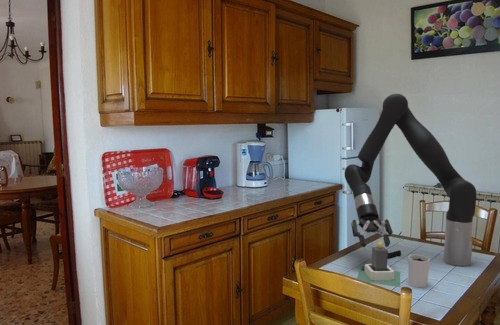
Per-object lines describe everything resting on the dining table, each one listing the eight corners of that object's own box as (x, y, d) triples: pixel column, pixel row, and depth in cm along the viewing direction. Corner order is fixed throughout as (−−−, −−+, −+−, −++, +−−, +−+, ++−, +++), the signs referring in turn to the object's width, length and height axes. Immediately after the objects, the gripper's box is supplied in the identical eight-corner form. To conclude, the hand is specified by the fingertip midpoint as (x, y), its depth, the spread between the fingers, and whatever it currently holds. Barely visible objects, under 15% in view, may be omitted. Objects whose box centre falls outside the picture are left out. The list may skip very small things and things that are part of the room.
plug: (381, 273, 140) (383, 240, 139) (386, 278, 136) (388, 243, 135) (371, 273, 140) (372, 240, 138) (375, 278, 136) (376, 243, 134)
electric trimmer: (403, 258, 160) (404, 251, 160) (379, 265, 152) (380, 257, 152) (396, 256, 163) (396, 248, 163) (372, 262, 155) (372, 254, 155)
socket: (385, 271, 142) (385, 263, 142) (394, 280, 134) (395, 272, 134) (363, 271, 141) (364, 263, 141) (371, 280, 134) (372, 272, 133)
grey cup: (404, 282, 135) (405, 254, 134) (424, 282, 134) (425, 255, 133) (410, 290, 128) (411, 261, 127) (431, 291, 128) (432, 261, 127)
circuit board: (399, 274, 142) (400, 270, 142) (399, 289, 129) (399, 285, 129) (360, 269, 147) (360, 265, 147) (356, 283, 134) (356, 278, 134)
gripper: (350, 203, 148) (359, 241, 137) (386, 202, 148) (398, 240, 138) (345, 213, 153) (354, 251, 143) (381, 213, 154) (392, 250, 144)
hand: (376, 246), depth 141 cm, fingers open, 8 cm apart
